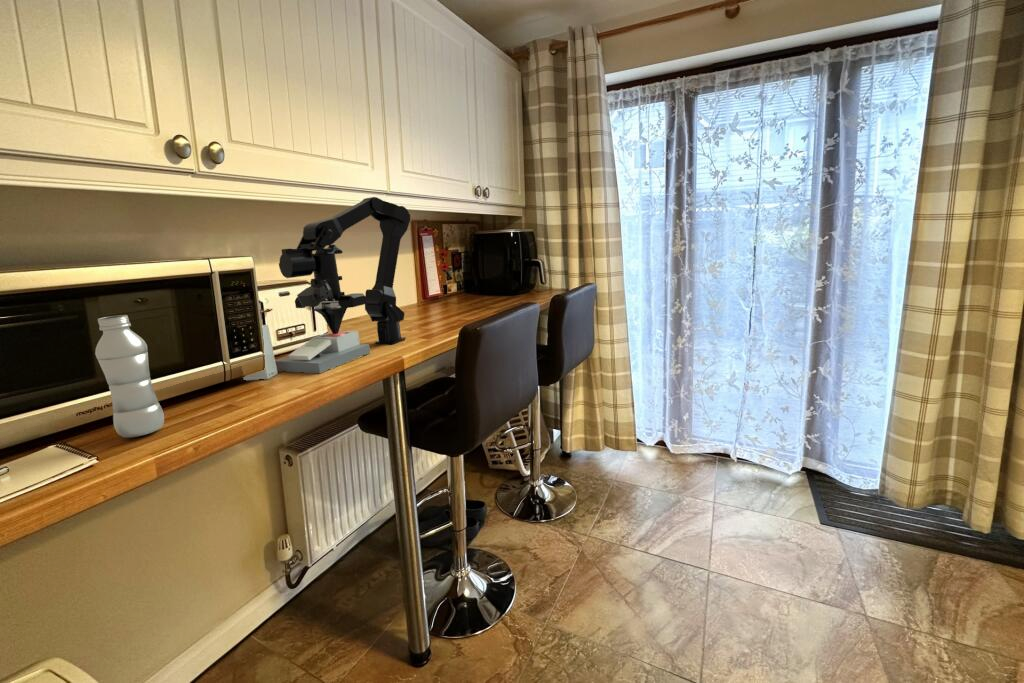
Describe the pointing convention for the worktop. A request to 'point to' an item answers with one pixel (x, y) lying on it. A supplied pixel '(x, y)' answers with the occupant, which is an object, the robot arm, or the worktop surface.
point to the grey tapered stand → (266, 359)
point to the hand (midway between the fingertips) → (335, 333)
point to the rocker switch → (309, 349)
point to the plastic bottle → (128, 378)
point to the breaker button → (335, 334)
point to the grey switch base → (328, 354)
